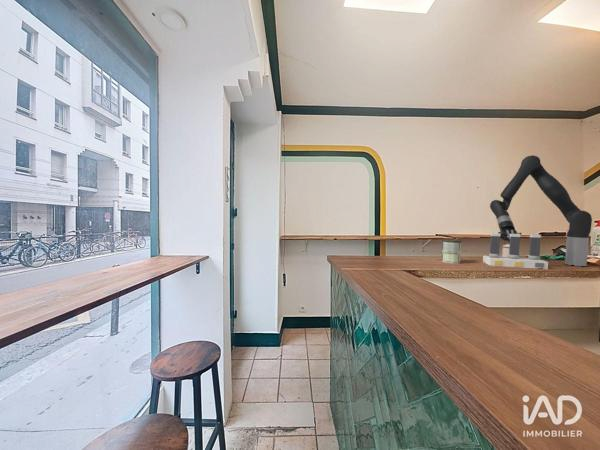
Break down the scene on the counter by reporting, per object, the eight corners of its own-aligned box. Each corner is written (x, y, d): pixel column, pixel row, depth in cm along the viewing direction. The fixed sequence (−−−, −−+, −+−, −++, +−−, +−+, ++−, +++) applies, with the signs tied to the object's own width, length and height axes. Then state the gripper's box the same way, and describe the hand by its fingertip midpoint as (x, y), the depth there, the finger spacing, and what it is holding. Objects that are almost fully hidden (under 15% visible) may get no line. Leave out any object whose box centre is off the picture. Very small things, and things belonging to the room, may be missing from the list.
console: (536, 264, 163) (536, 258, 163) (548, 269, 151) (548, 262, 151) (482, 261, 171) (483, 255, 171) (490, 265, 159) (490, 259, 159)
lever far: (498, 257, 164) (499, 233, 164) (499, 257, 162) (501, 233, 161) (488, 256, 166) (490, 233, 165) (490, 257, 164) (491, 233, 163)
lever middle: (517, 258, 162) (519, 233, 161) (519, 258, 159) (520, 234, 158) (508, 257, 163) (509, 233, 162) (509, 258, 161) (511, 234, 160)
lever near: (537, 259, 159) (539, 234, 158) (540, 260, 156) (541, 234, 155) (528, 258, 160) (529, 234, 159) (530, 259, 158) (531, 234, 157)
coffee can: (438, 260, 176) (439, 238, 175) (455, 260, 175) (456, 239, 174) (445, 263, 165) (446, 240, 164) (463, 263, 164) (464, 241, 163)
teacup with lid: (518, 261, 173) (519, 243, 173) (501, 259, 179) (502, 242, 178) (518, 258, 183) (519, 241, 182) (502, 257, 188) (503, 240, 188)
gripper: (495, 219, 172) (502, 241, 161) (519, 220, 169) (528, 242, 158) (491, 227, 178) (498, 248, 167) (515, 228, 174) (523, 249, 163)
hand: (513, 245), depth 162 cm, fingers closed
